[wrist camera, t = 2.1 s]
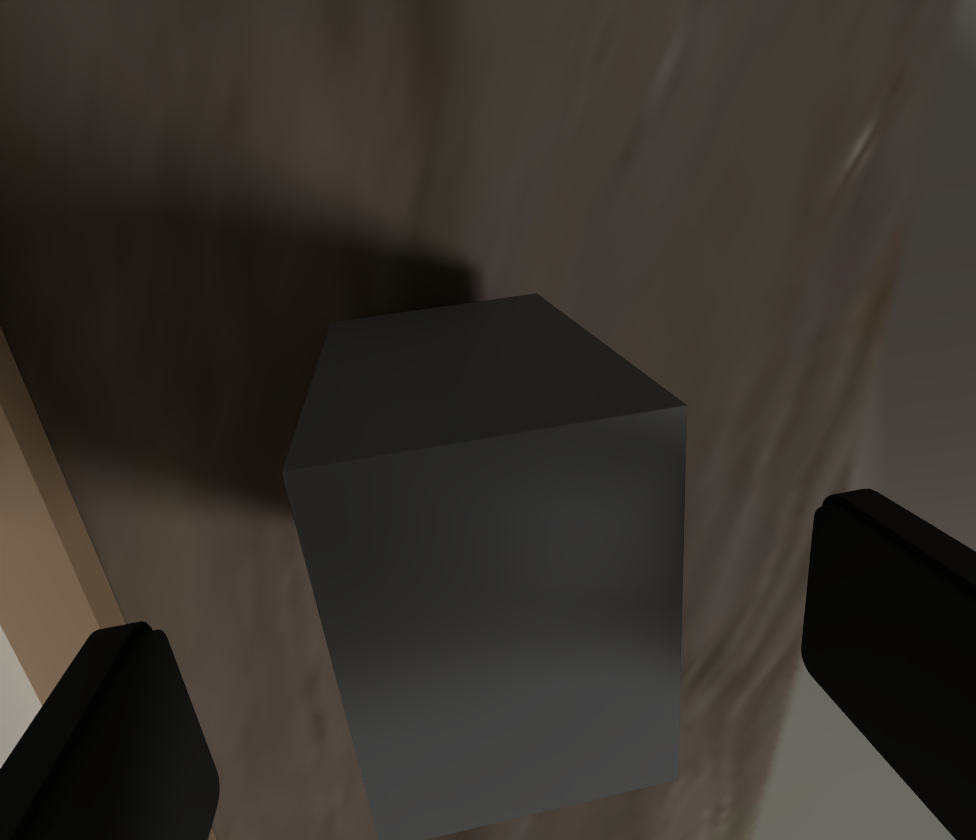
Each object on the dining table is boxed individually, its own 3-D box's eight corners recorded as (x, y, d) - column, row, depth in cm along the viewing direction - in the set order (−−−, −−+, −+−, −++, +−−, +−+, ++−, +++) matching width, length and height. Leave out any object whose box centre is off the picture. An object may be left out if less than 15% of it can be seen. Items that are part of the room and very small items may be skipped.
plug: (334, 310, 14) (282, 471, 6) (524, 284, 14) (686, 404, 7) (380, 535, 16) (381, 849, 9) (542, 506, 17) (677, 779, 9)
